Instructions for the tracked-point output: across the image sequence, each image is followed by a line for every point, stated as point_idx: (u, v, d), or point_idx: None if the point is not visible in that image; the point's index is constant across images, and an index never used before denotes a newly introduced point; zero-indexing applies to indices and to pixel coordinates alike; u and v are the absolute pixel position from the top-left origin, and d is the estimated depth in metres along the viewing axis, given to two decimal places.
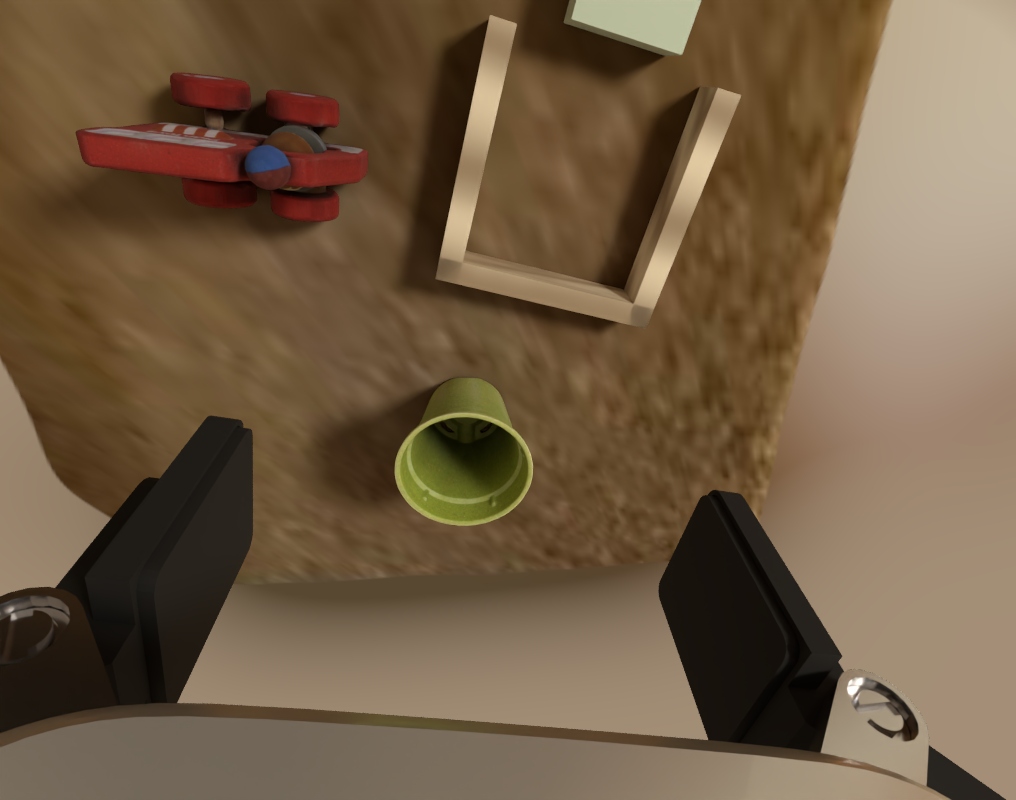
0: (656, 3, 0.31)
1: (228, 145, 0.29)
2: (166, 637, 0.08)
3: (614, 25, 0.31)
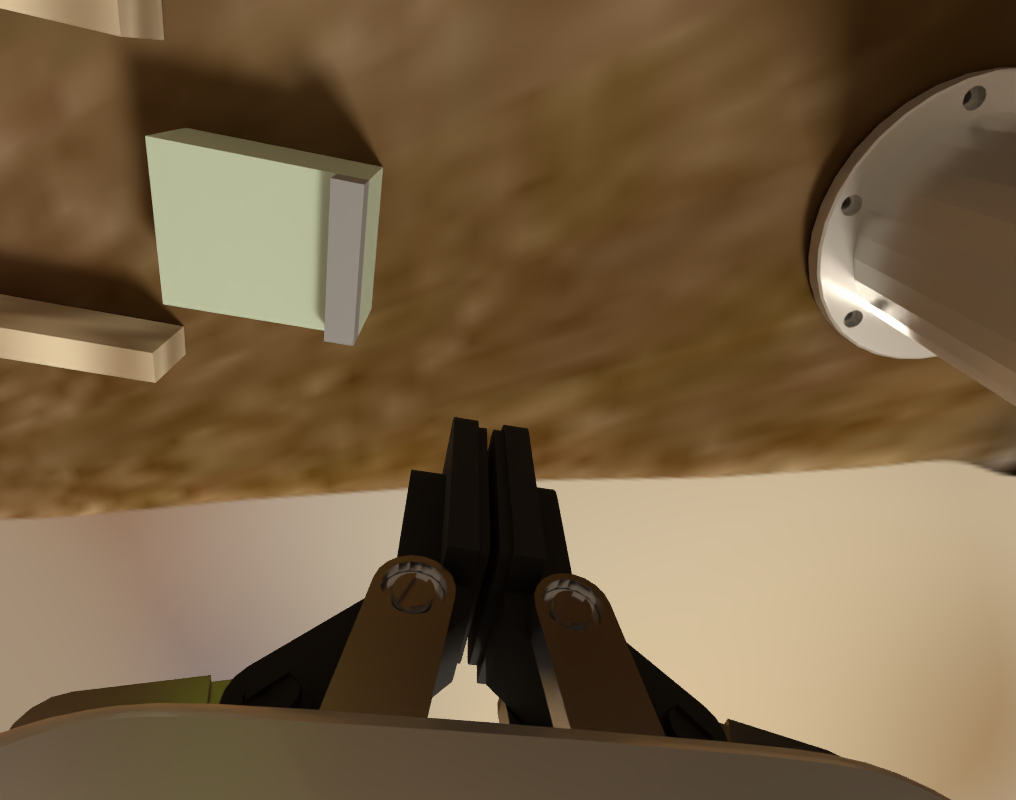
0: (206, 258, 0.23)
1: None
2: None
3: (161, 204, 0.22)
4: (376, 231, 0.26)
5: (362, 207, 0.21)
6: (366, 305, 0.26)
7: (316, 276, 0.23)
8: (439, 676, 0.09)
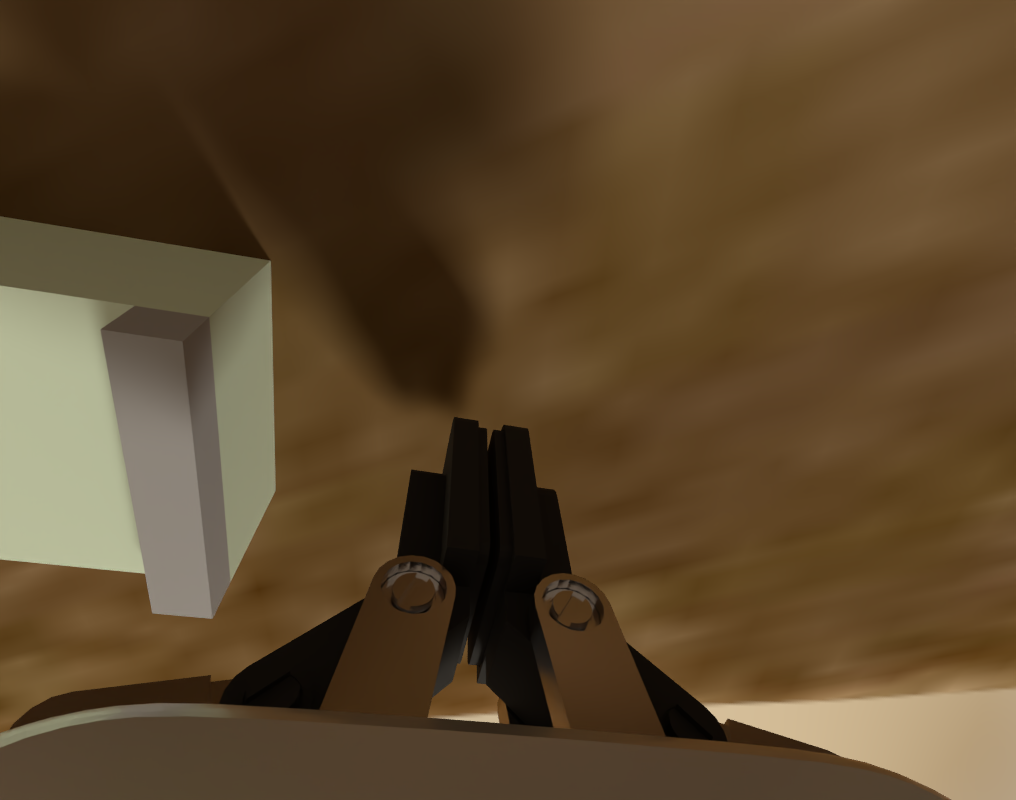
0: None
1: None
2: None
3: None
4: (268, 374, 0.14)
5: (187, 385, 0.09)
6: (255, 506, 0.14)
7: (130, 491, 0.12)
8: (439, 676, 0.09)
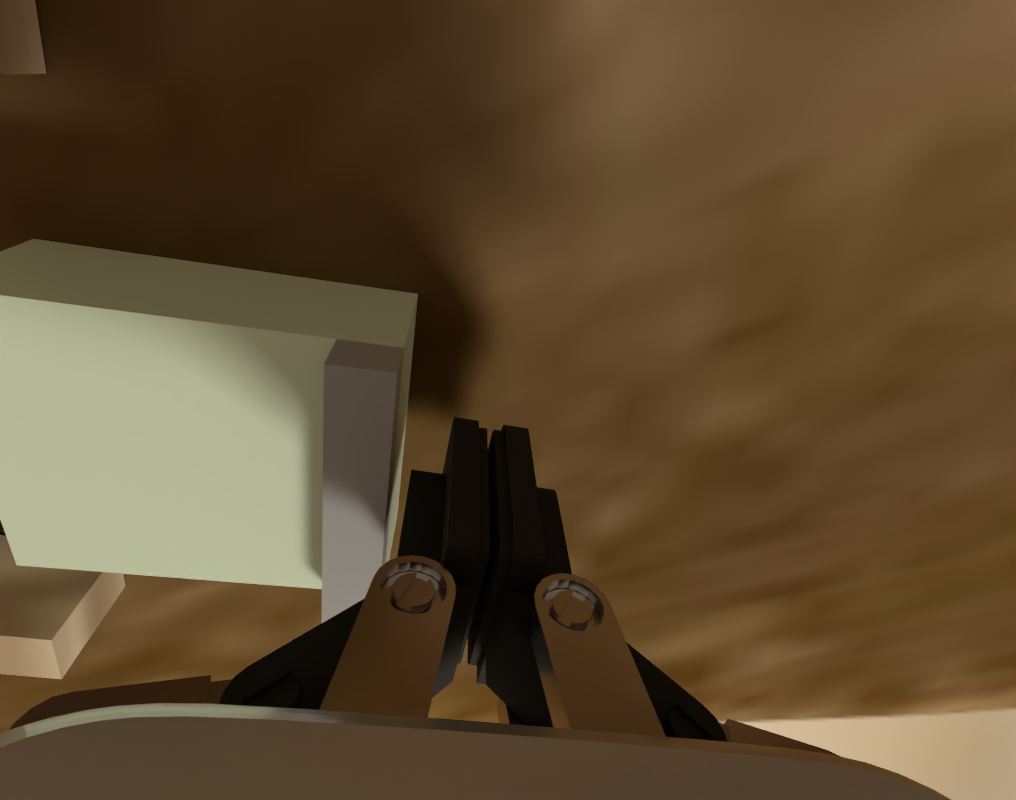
0: (86, 493, 0.12)
1: None
2: None
3: None
4: (408, 394, 0.14)
5: (393, 413, 0.10)
6: (394, 521, 0.15)
7: (303, 511, 0.12)
8: (439, 676, 0.09)
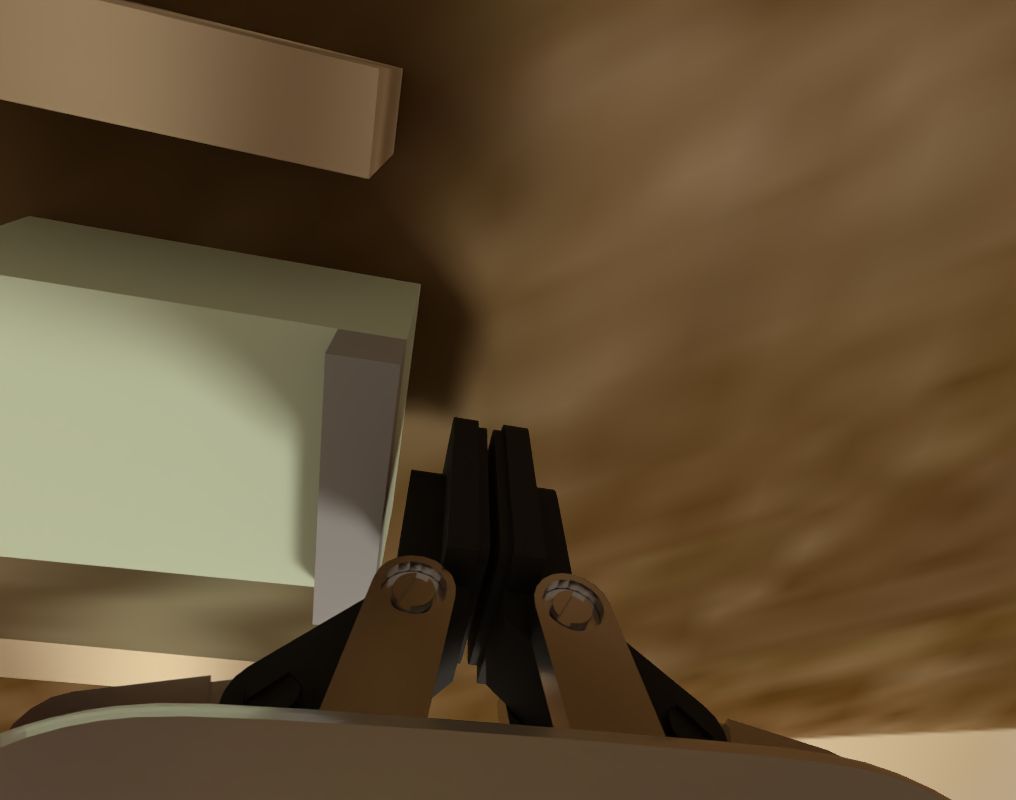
0: (71, 482, 0.11)
1: None
2: None
3: None
4: None
5: (394, 406, 0.10)
6: (388, 519, 0.14)
7: (296, 506, 0.12)
8: (439, 676, 0.09)
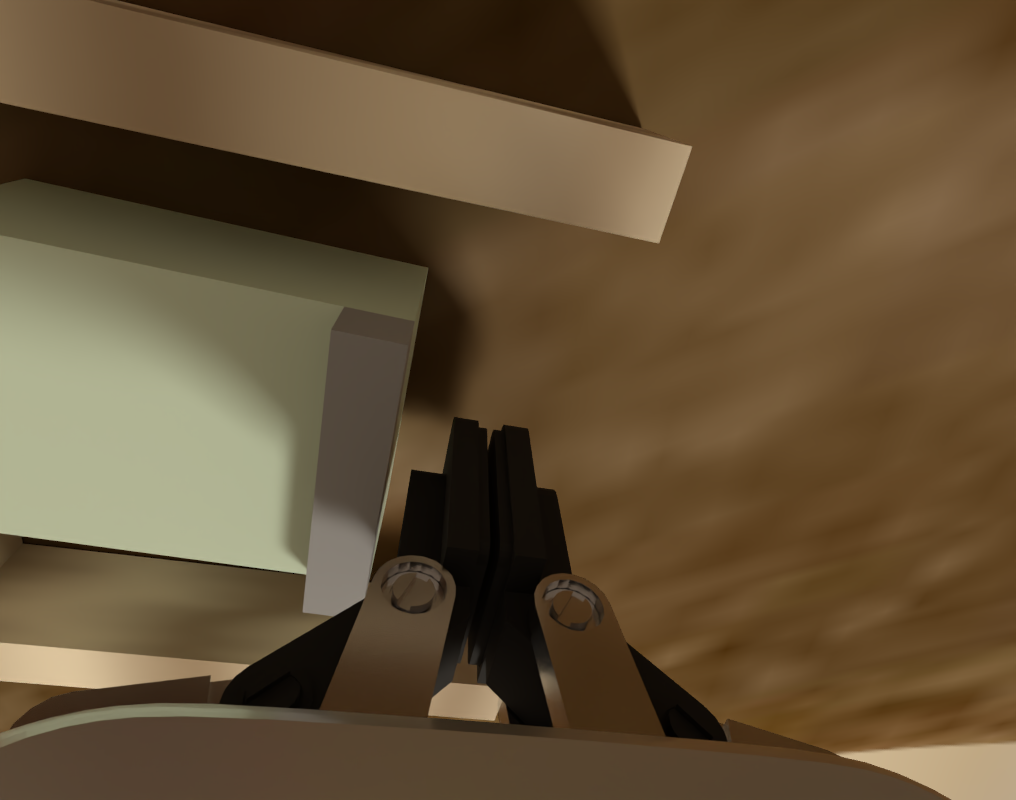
0: (57, 456, 0.11)
1: None
2: None
3: None
4: (408, 377, 0.14)
5: (400, 388, 0.09)
6: (384, 508, 0.14)
7: (291, 489, 0.12)
8: (439, 676, 0.09)
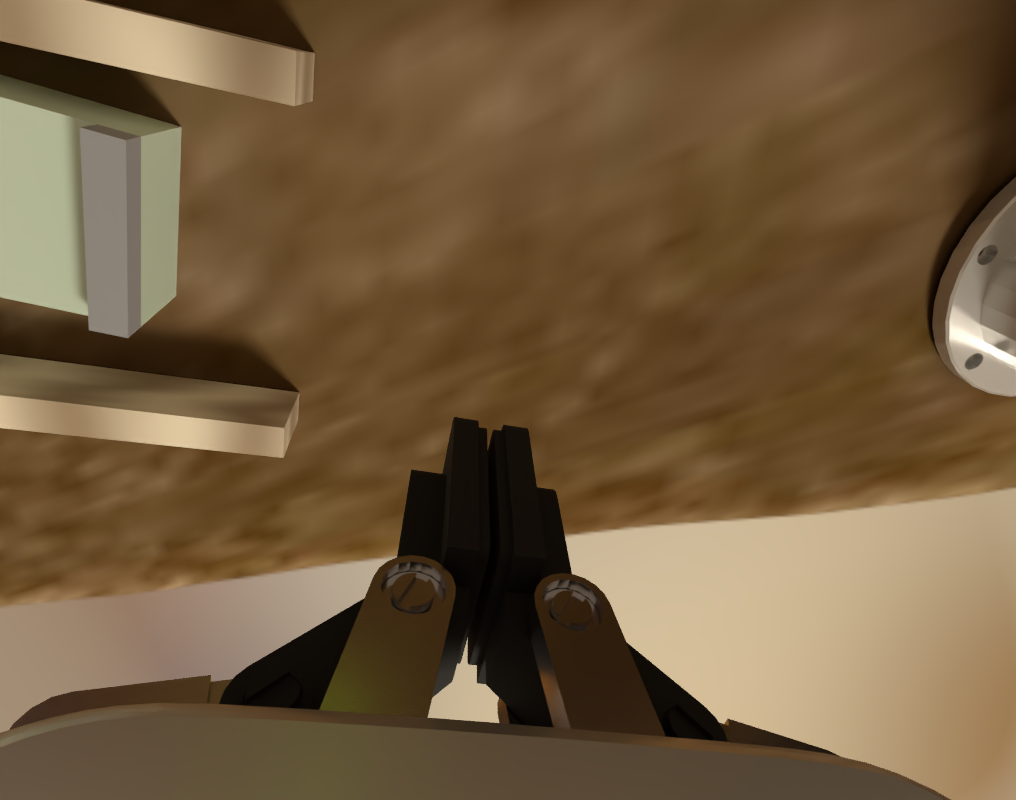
0: None
1: None
2: None
3: None
4: (175, 203, 0.21)
5: (126, 168, 0.17)
6: (160, 291, 0.22)
7: (80, 250, 0.19)
8: (439, 676, 0.09)
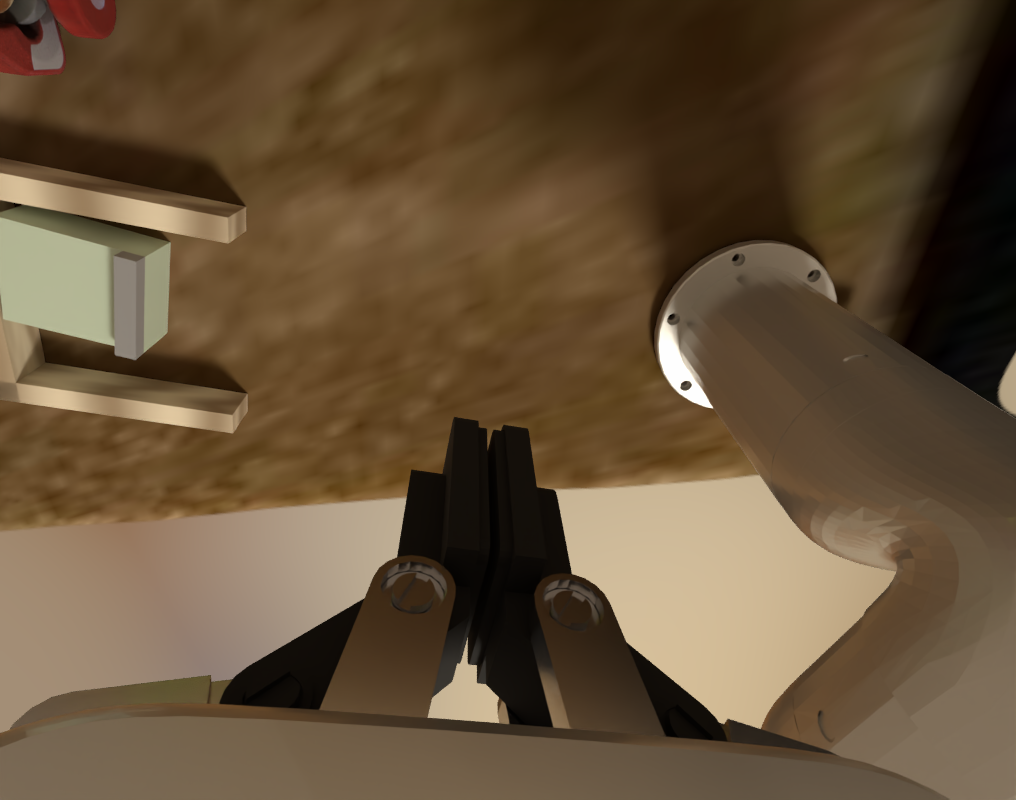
0: (34, 293, 0.34)
1: None
2: None
3: (2, 256, 0.33)
4: (166, 282, 0.37)
5: (136, 275, 0.33)
6: (156, 332, 0.38)
7: (112, 312, 0.35)
8: (439, 676, 0.09)
